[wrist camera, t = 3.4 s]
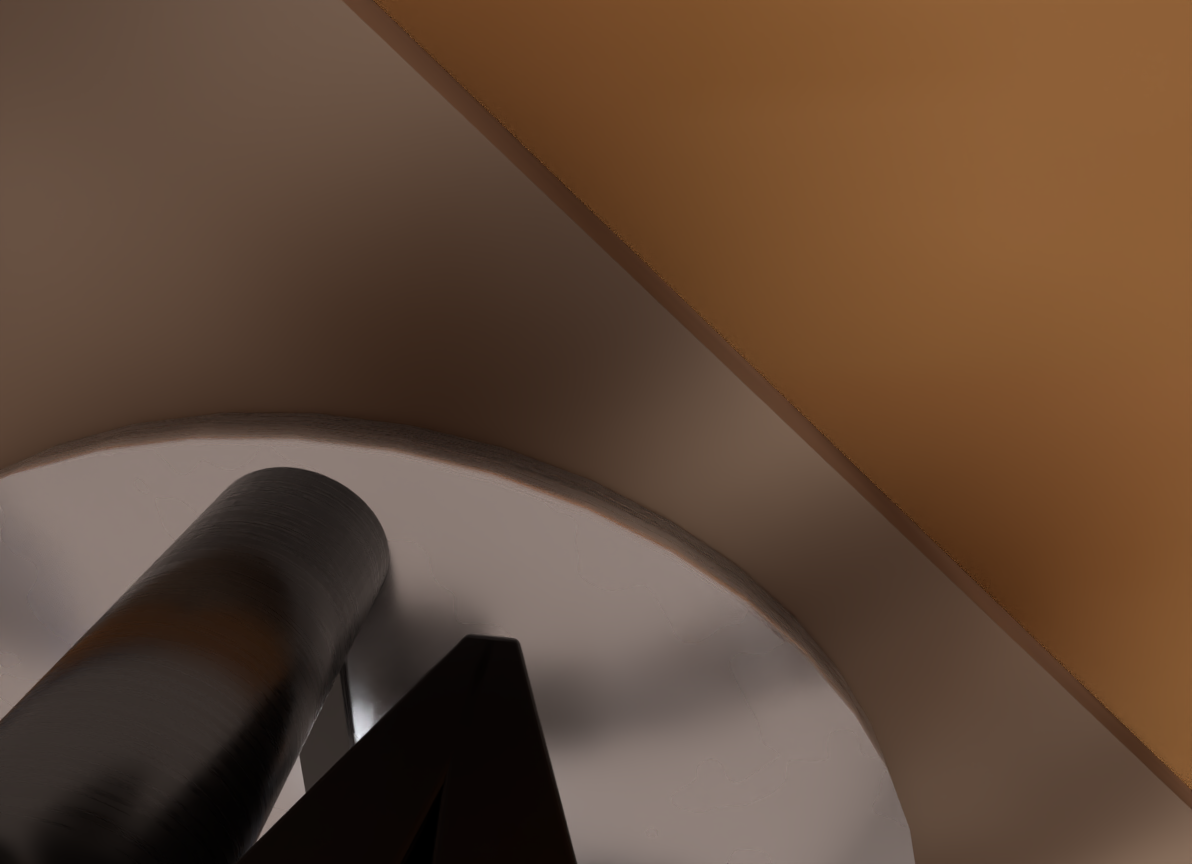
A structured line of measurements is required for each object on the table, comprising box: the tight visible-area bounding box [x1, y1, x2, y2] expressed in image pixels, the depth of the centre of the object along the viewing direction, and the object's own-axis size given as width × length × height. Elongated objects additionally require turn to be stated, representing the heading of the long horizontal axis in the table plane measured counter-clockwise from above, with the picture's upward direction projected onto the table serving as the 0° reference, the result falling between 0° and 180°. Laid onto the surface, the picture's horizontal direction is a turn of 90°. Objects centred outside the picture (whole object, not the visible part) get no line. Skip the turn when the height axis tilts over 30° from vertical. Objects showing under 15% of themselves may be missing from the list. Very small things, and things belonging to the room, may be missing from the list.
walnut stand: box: [0, 0, 1192, 864], centre depth 15 cm, size 24×24×2 cm
